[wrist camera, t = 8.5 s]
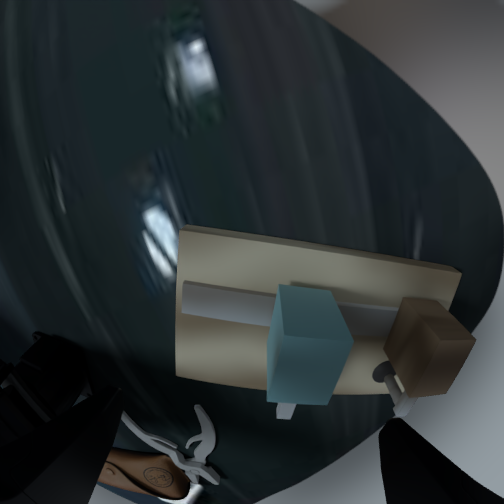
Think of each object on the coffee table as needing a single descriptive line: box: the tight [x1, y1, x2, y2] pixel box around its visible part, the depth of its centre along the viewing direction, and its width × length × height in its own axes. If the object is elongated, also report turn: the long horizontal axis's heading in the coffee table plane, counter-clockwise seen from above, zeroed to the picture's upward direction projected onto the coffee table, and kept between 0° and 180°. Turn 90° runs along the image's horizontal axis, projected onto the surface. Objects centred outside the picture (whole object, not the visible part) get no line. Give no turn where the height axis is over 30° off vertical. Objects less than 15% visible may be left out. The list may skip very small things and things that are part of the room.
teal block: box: [267, 284, 354, 419], centre depth 14 cm, size 7×3×5 cm, turn 172°
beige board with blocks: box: [176, 224, 476, 417], centre depth 16 cm, size 11×19×7 cm, turn 82°
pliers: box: [121, 405, 220, 485], centre depth 24 cm, size 10×2×15 cm
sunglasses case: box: [98, 447, 190, 500], centre depth 26 cm, size 18×7×7 cm, turn 101°
